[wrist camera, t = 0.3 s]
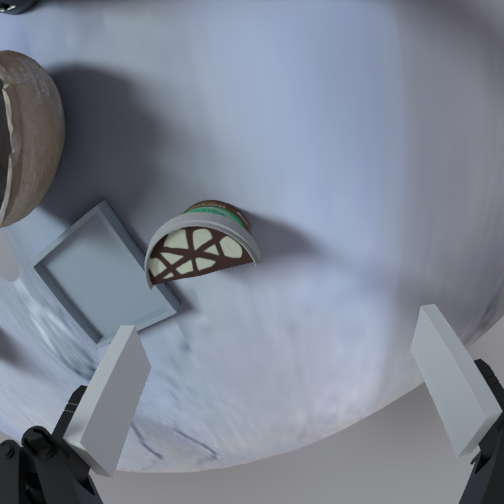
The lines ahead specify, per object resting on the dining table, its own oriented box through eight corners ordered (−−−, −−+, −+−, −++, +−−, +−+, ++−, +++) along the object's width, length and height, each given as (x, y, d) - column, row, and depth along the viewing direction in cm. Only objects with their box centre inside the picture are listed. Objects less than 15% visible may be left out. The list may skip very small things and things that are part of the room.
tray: (36, 257, 41) (27, 265, 39) (105, 198, 37) (96, 204, 35) (102, 339, 48) (96, 349, 46) (180, 302, 44) (176, 312, 41)
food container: (248, 178, 36) (243, 203, 27) (262, 226, 38) (262, 265, 29) (152, 206, 38) (120, 238, 29) (169, 250, 40) (145, 291, 31)
